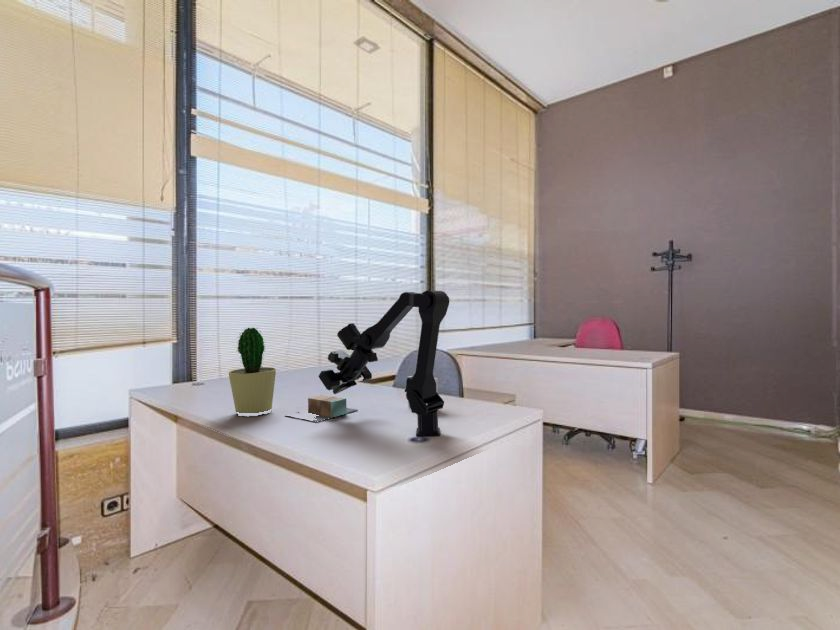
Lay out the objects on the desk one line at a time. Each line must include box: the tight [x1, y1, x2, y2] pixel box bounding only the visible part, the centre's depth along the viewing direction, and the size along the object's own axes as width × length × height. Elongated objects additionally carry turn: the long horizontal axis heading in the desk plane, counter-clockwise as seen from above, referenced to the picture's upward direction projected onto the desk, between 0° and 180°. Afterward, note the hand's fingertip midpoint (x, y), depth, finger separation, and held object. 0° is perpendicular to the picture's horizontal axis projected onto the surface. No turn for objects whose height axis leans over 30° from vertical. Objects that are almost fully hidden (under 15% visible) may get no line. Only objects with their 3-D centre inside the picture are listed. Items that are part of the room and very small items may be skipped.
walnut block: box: [307, 394, 348, 419], centre depth 148 cm, size 5×6×12 cm
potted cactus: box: [227, 326, 277, 413], centre depth 153 cm, size 15×15×30 cm
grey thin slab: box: [313, 407, 359, 422], centre depth 150 cm, size 16×18×1 cm
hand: (334, 392), depth 146 cm, fingers closed
